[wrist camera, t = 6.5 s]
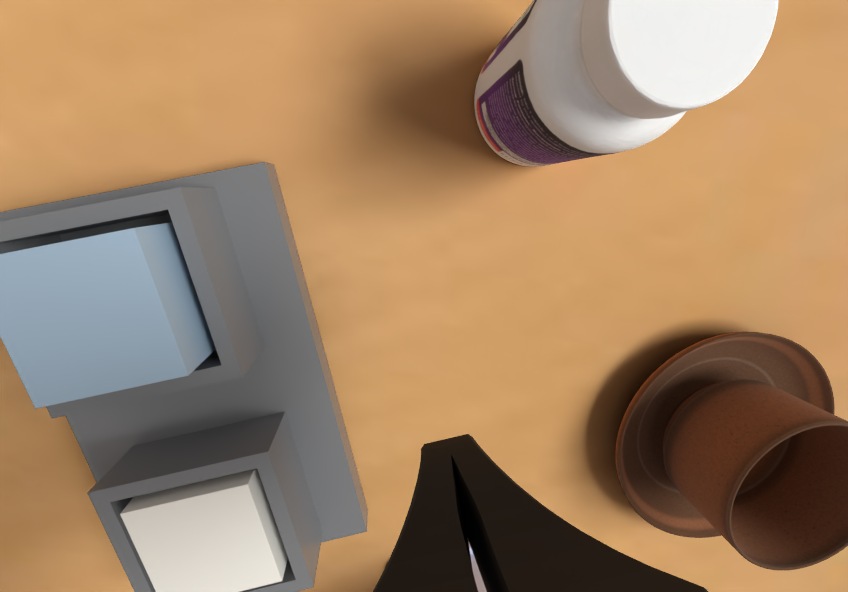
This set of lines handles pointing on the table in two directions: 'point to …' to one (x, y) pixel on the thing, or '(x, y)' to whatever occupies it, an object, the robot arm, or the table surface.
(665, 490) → the cup and saucer
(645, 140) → the pill bottle
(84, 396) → the blue key
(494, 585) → the robot arm
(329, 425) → the key panel
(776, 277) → the table surface
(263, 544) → the white key
